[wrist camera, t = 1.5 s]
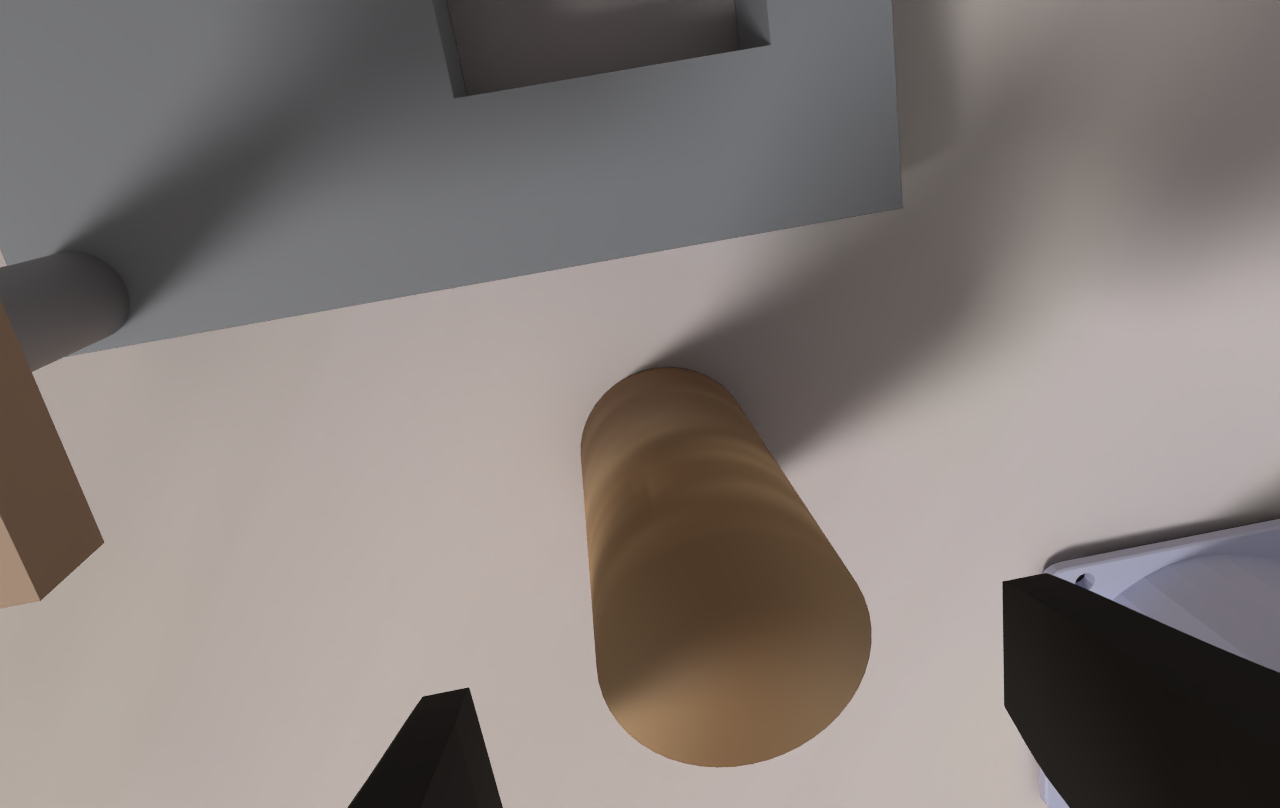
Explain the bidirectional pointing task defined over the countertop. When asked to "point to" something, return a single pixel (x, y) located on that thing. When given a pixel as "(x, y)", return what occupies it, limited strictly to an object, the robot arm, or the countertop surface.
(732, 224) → the socket plate
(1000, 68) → the countertop surface
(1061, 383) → the countertop surface
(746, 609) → the peg
